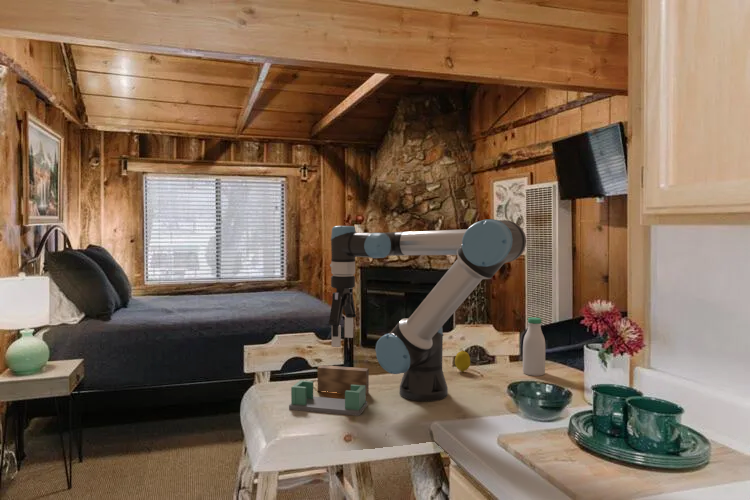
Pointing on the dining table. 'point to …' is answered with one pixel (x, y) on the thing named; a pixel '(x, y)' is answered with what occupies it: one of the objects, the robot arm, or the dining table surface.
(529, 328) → the milk bottle
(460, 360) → the lemon
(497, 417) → the dining table surface
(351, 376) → the slat
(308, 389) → the cradle
